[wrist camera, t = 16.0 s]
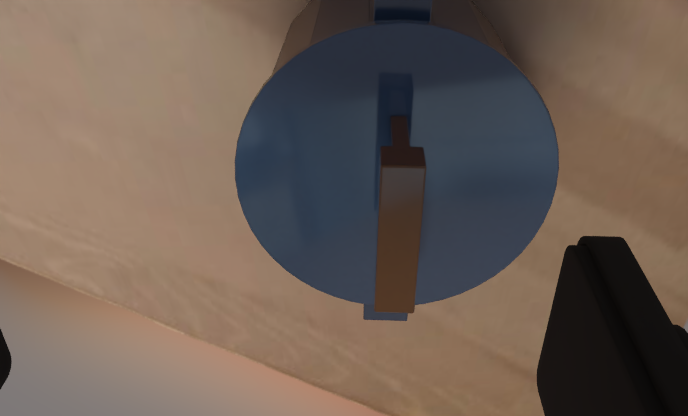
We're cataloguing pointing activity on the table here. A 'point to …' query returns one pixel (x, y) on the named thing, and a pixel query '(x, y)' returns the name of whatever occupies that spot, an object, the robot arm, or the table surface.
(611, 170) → the table surface
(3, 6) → the table surface
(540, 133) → the lid
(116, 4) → the table surface
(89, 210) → the table surface
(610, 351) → the robot arm
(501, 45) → the crock
